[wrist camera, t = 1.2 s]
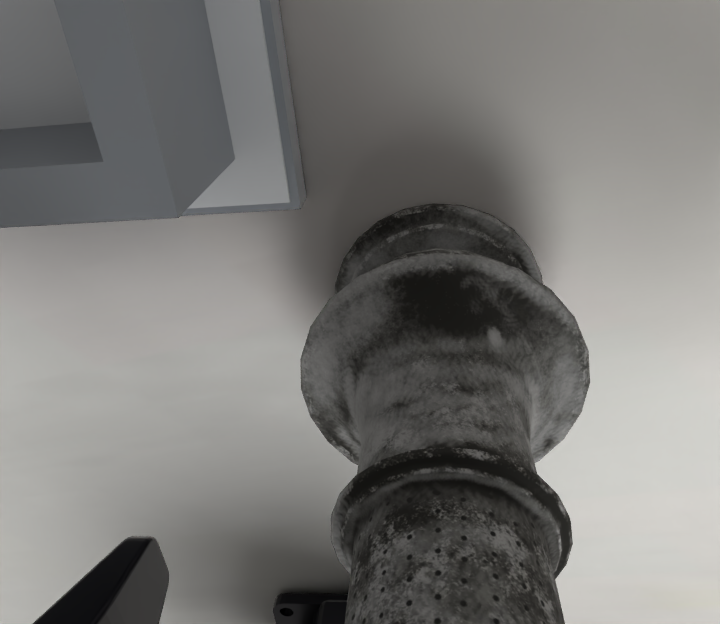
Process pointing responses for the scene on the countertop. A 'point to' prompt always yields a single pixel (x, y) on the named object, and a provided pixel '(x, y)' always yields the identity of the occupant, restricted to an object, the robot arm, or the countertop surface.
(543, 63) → the countertop surface
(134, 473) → the countertop surface
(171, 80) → the dock
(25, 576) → the countertop surface
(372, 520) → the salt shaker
